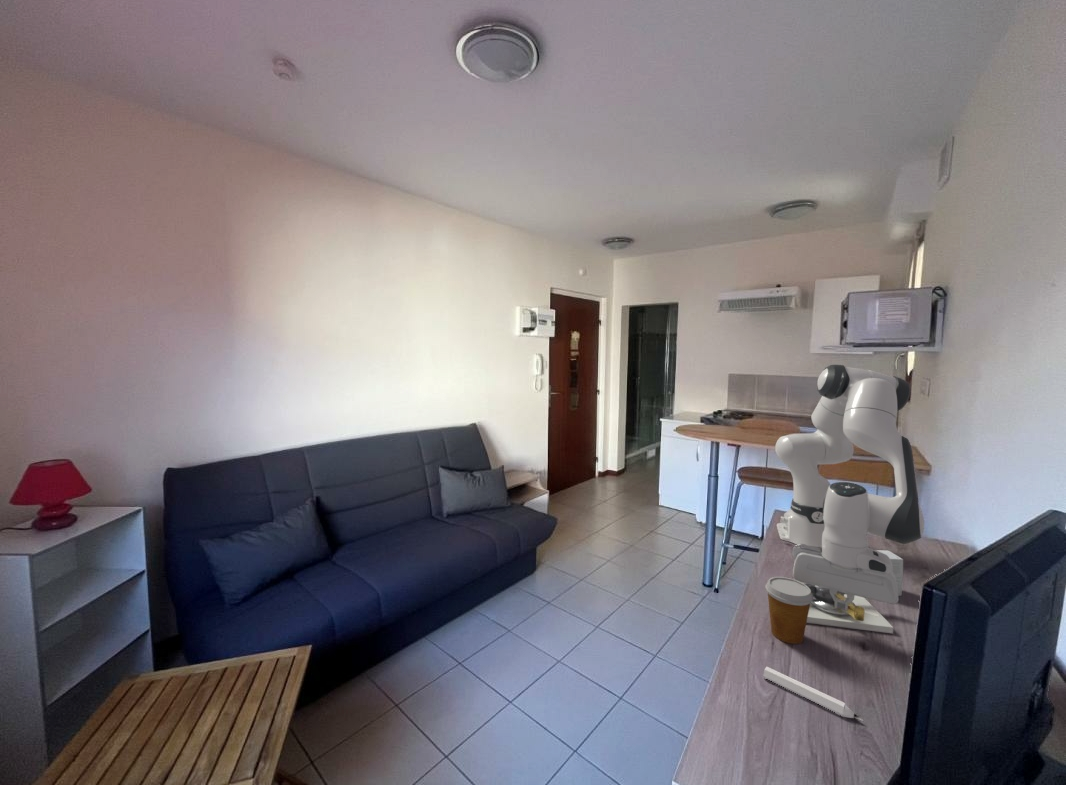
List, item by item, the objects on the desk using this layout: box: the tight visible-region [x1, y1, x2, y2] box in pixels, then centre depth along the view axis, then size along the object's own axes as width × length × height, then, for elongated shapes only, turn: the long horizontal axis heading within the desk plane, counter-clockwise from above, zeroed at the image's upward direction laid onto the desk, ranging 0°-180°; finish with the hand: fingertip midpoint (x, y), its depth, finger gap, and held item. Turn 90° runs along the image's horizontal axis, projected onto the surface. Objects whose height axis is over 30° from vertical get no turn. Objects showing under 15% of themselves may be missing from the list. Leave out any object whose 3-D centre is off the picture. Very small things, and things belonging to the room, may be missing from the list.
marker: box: [763, 665, 864, 722], centre depth 80 cm, size 3×2×16 cm
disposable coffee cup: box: [764, 576, 813, 645], centre depth 99 cm, size 10×10×12 cm
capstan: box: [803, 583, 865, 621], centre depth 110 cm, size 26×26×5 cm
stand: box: [805, 583, 894, 634], centre depth 111 cm, size 18×20×4 cm
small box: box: [875, 549, 904, 597], centre depth 118 cm, size 8×6×10 cm
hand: (840, 608), depth 101 cm, fingers closed
